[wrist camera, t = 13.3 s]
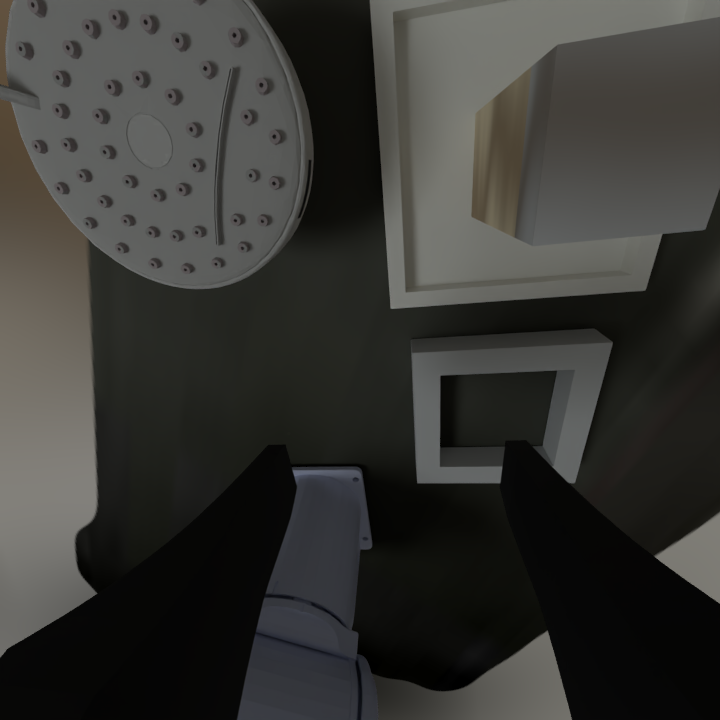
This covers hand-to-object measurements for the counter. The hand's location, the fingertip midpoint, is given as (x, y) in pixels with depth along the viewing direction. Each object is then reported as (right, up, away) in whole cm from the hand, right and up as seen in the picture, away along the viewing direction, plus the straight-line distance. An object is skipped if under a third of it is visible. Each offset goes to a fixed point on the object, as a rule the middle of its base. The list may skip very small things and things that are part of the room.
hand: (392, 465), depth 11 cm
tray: (+6, +12, +4) cm, 14 cm away
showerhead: (-7, +13, +5) cm, 16 cm away
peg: (+6, +12, +3) cm, 14 cm away
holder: (+7, +1, +10) cm, 13 cm away
